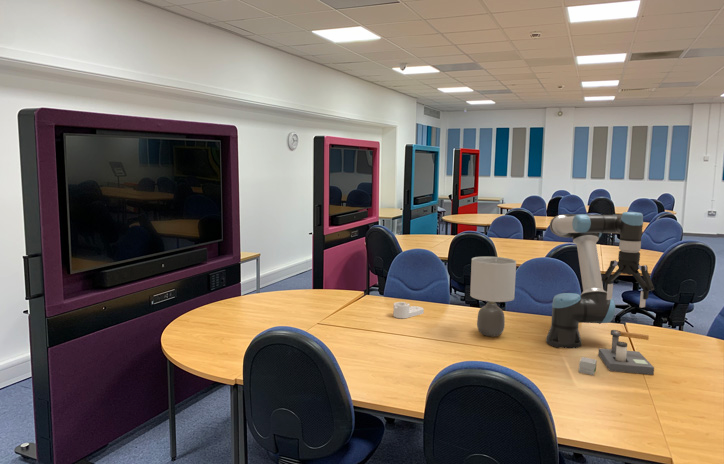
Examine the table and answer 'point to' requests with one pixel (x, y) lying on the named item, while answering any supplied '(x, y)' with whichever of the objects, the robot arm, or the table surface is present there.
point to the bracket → (406, 310)
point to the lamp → (492, 290)
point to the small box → (587, 366)
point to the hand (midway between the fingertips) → (625, 303)
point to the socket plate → (633, 360)
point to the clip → (629, 334)
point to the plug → (621, 351)
